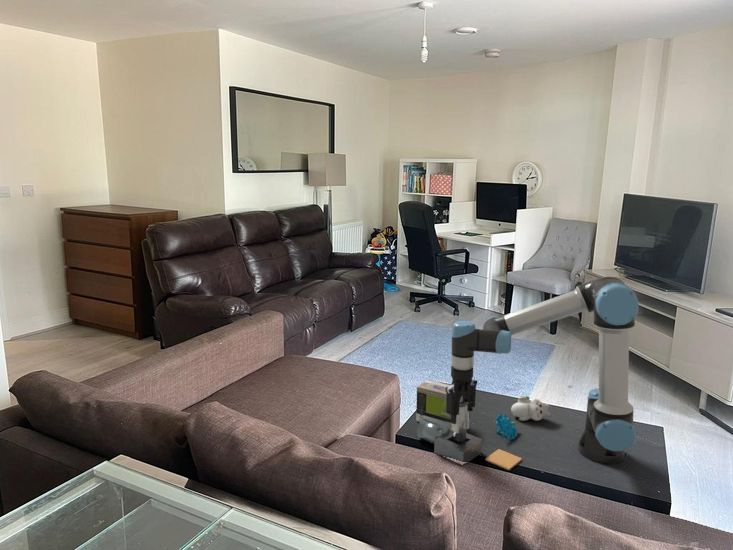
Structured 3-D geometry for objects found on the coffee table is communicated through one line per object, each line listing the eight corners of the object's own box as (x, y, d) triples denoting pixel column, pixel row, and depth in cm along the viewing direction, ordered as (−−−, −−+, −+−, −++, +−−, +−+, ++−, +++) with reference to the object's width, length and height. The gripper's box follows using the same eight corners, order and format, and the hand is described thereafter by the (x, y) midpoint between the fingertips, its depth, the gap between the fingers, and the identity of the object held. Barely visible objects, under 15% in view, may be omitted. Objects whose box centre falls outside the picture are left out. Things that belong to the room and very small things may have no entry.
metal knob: (459, 433, 189) (460, 396, 186) (470, 439, 185) (471, 401, 182) (449, 437, 186) (450, 400, 183) (460, 443, 182) (461, 405, 179)
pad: (521, 460, 182) (522, 458, 182) (508, 470, 176) (508, 468, 176) (498, 450, 188) (498, 448, 188) (485, 460, 182) (485, 458, 182)
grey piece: (481, 452, 187) (482, 434, 186) (462, 466, 178) (463, 447, 177) (431, 431, 202) (432, 414, 200) (412, 442, 193) (412, 424, 192)
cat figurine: (510, 395, 212) (549, 395, 208) (510, 398, 219) (548, 398, 215) (511, 420, 209) (551, 420, 205) (511, 421, 216) (550, 422, 212)
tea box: (460, 421, 210) (462, 386, 206) (449, 432, 201) (451, 395, 198) (427, 411, 218) (428, 378, 215) (415, 421, 210) (416, 386, 207)
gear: (507, 441, 192) (494, 415, 196) (496, 447, 195) (483, 422, 200) (524, 435, 199) (510, 410, 204) (513, 441, 203) (500, 417, 207)
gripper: (471, 357, 188) (469, 418, 193) (435, 368, 178) (434, 432, 183) (487, 363, 182) (485, 426, 187) (451, 375, 172) (450, 441, 177)
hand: (460, 429), depth 185 cm, fingers closed on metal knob, 4 cm apart
